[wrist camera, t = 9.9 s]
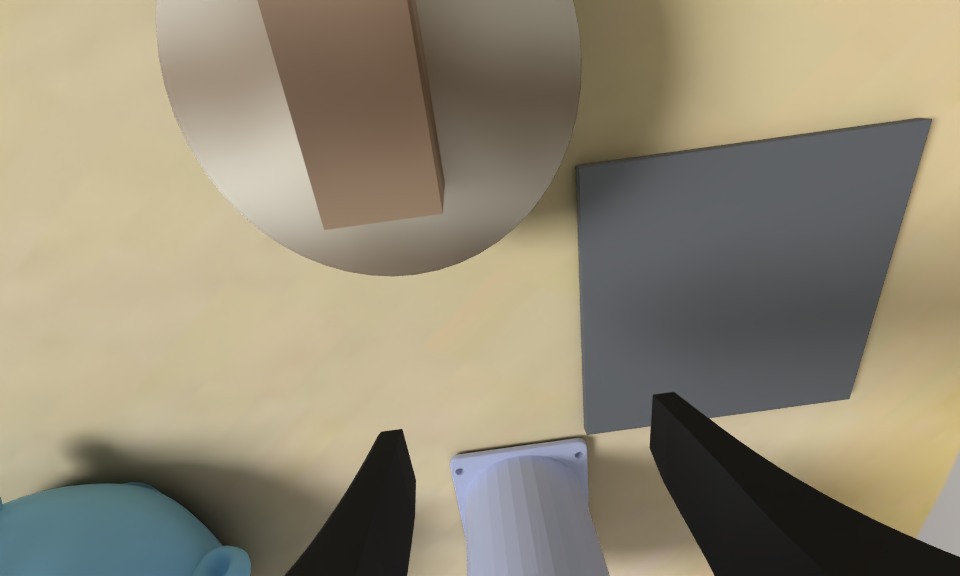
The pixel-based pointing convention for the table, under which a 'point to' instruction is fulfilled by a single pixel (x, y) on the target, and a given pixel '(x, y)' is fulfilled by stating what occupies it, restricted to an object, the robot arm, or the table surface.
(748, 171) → the mat
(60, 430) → the table surface
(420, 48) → the lid
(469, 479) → the robot arm
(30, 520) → the decorative pot
